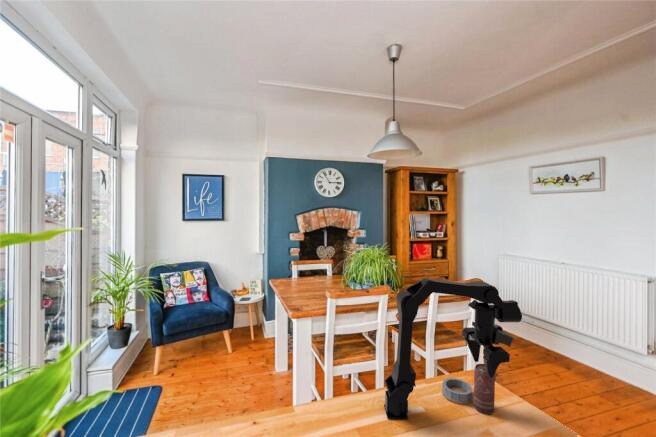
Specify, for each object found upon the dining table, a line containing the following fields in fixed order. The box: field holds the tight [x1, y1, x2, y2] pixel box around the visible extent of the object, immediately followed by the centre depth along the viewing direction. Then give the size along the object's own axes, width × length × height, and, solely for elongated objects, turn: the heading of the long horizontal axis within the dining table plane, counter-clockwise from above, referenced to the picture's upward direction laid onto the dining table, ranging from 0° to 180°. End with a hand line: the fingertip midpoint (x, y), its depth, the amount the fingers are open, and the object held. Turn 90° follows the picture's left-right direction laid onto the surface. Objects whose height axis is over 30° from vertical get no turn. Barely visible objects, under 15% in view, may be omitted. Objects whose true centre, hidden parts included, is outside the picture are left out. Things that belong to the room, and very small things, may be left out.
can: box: [473, 363, 497, 415], centre depth 99 cm, size 6×6×14 cm
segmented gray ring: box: [441, 377, 474, 406], centre depth 106 cm, size 10×10×4 cm
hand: (483, 369), depth 97 cm, fingers open, 9 cm apart
